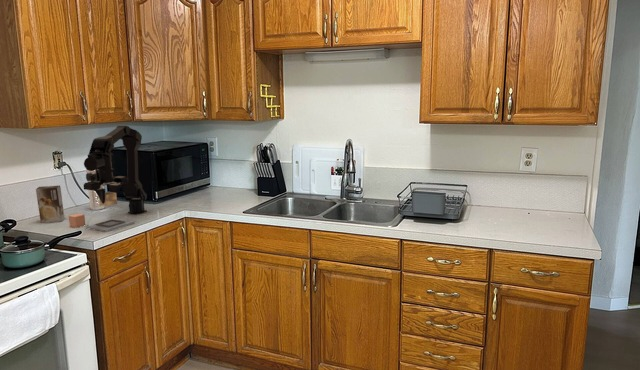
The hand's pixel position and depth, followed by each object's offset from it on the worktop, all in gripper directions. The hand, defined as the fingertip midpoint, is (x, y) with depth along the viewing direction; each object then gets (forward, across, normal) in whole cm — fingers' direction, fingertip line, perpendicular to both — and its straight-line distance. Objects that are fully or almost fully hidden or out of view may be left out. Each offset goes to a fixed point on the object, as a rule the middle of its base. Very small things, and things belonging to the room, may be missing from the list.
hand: (108, 202), depth 209 cm
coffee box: (+11, +6, -32) cm, 35 cm away
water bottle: (+11, -19, -33) cm, 40 cm away
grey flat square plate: (+11, 0, 0) cm, 11 cm away
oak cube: (+1, 0, 0) cm, 1 cm away
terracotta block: (+11, +7, -13) cm, 18 cm away
